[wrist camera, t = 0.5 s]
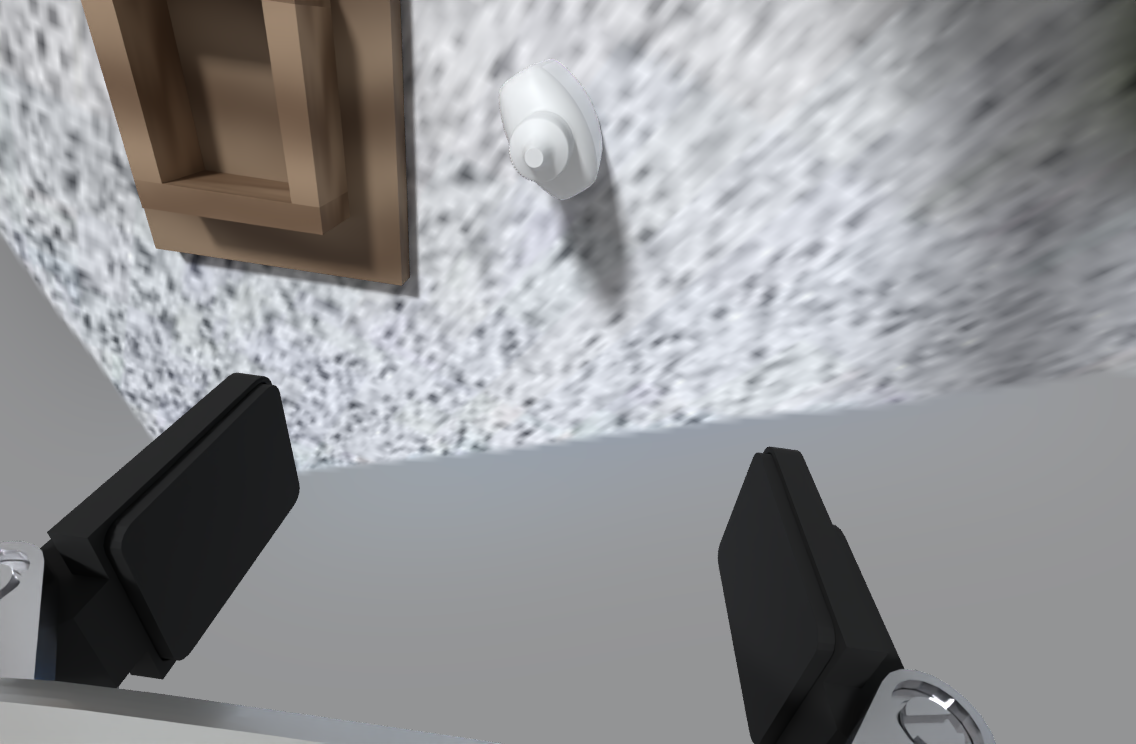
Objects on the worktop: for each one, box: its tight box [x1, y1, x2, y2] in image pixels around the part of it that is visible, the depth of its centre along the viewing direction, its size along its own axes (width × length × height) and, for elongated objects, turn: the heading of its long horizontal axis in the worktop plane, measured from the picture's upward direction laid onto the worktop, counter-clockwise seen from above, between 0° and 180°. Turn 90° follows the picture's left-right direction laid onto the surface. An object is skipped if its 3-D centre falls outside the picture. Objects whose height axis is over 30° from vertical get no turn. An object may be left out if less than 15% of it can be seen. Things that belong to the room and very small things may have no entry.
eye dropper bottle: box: [499, 58, 603, 200], centre depth 25 cm, size 4×6×12 cm
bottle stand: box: [81, 0, 410, 286], centre depth 28 cm, size 20×16×5 cm
